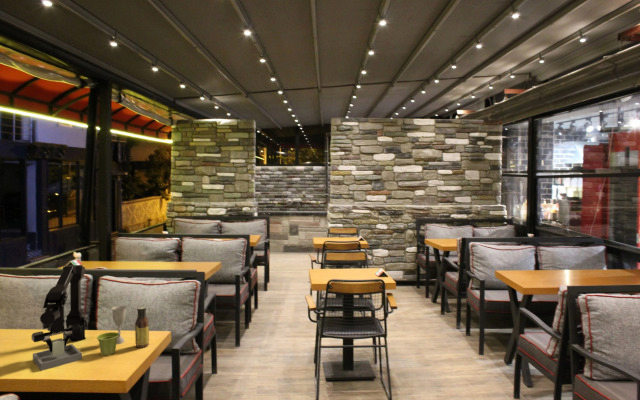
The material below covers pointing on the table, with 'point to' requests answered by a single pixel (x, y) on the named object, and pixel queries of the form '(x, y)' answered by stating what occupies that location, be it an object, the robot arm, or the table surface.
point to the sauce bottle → (141, 328)
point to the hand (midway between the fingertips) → (57, 350)
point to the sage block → (57, 347)
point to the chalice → (119, 320)
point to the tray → (56, 357)
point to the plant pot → (108, 343)
